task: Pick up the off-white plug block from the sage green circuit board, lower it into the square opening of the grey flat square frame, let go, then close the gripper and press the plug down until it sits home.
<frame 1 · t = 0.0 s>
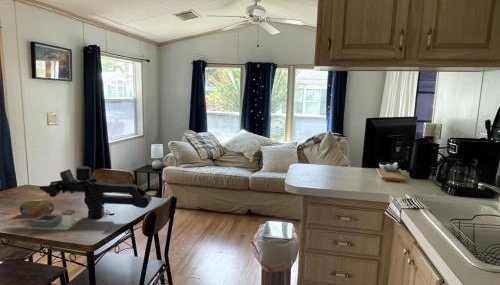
hand: (45, 185, 160), 17 cm above the table, tool horizontal, fingers open, 9 cm apart
grey flat square frame: (48, 223, 151), resting on circuit board
circuit board: (55, 224, 153), on the table
plug: (68, 223, 153), point 1 cm above the table, touching circuit board
tin: (37, 216, 163), on the table
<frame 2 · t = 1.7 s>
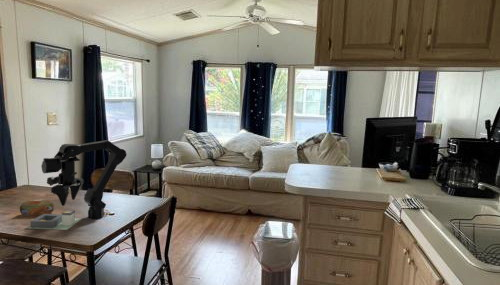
hand: (68, 202, 152), 11 cm above the table, tool pointing down, fingers open, 9 cm apart
nothing on the table moved.
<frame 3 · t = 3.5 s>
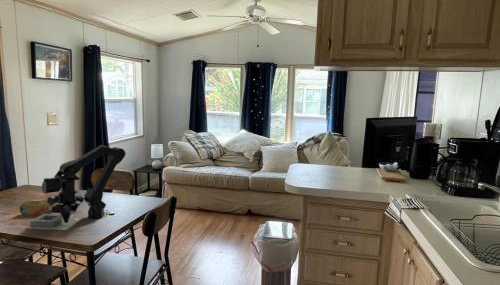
hand: (68, 221, 153), 2 cm above the table, tool pointing down, fingers closed on plug, 4 cm apart
plug: (68, 223, 153), point 1 cm above the table, touching circuit board, gripper
everything else where it was.
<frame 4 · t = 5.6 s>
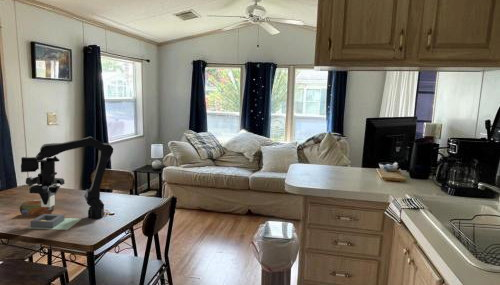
hand: (48, 203, 150), 11 cm above the table, tool pointing down, fingers closed on plug, 4 cm apart
plug: (48, 205, 150), point 10 cm above the table, touching gripper
everything else where it was.
when the fingers open (4 cm above the table, at t = 7.5 s): plug drops 2 cm, resting on circuit board.
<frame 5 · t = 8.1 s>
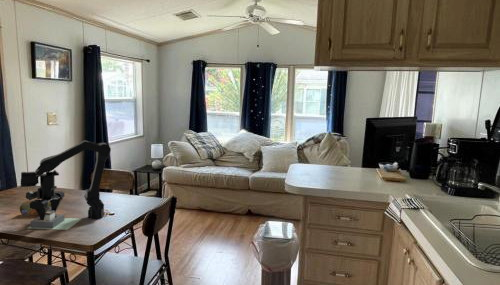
hand: (48, 216, 151), 4 cm above the table, tool pointing down, fingers open, 9 cm apart
plug: (48, 223, 151), point 1 cm above the table, touching circuit board
everything else where it was.
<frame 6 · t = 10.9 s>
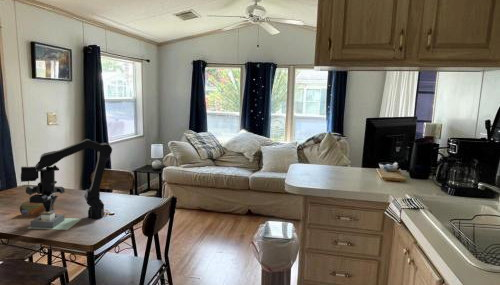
hand: (48, 211, 151), 7 cm above the table, tool pointing down, fingers closed, pressing on plug
plug: (48, 223, 151), point 1 cm above the table, touching circuit board, gripper
everything else where it was.
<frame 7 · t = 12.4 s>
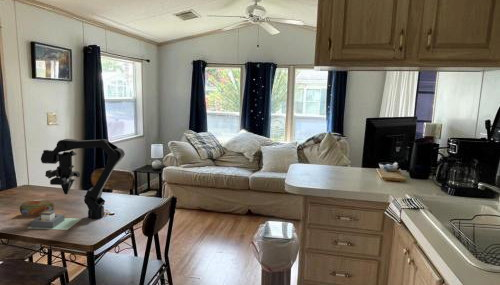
hand: (66, 194, 160), 13 cm above the table, tool pointing down, fingers closed
plug: (48, 223, 151), point 1 cm above the table, touching circuit board
everything else where it was.
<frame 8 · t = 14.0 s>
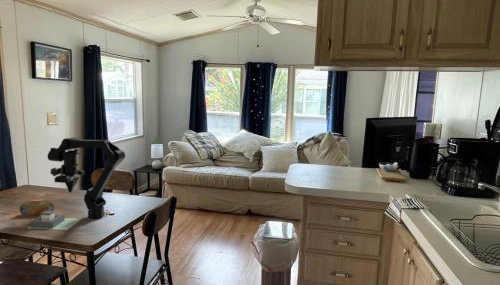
hand: (70, 192, 163), 13 cm above the table, tool pointing down, fingers closed
nothing on the table moved.
at the end: plug 0.0 cm off-centre on the grey flat square frame, point 0.0 cm above the grey flat square frame's base; plug tilted 0°; the gripper is holding nothing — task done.
